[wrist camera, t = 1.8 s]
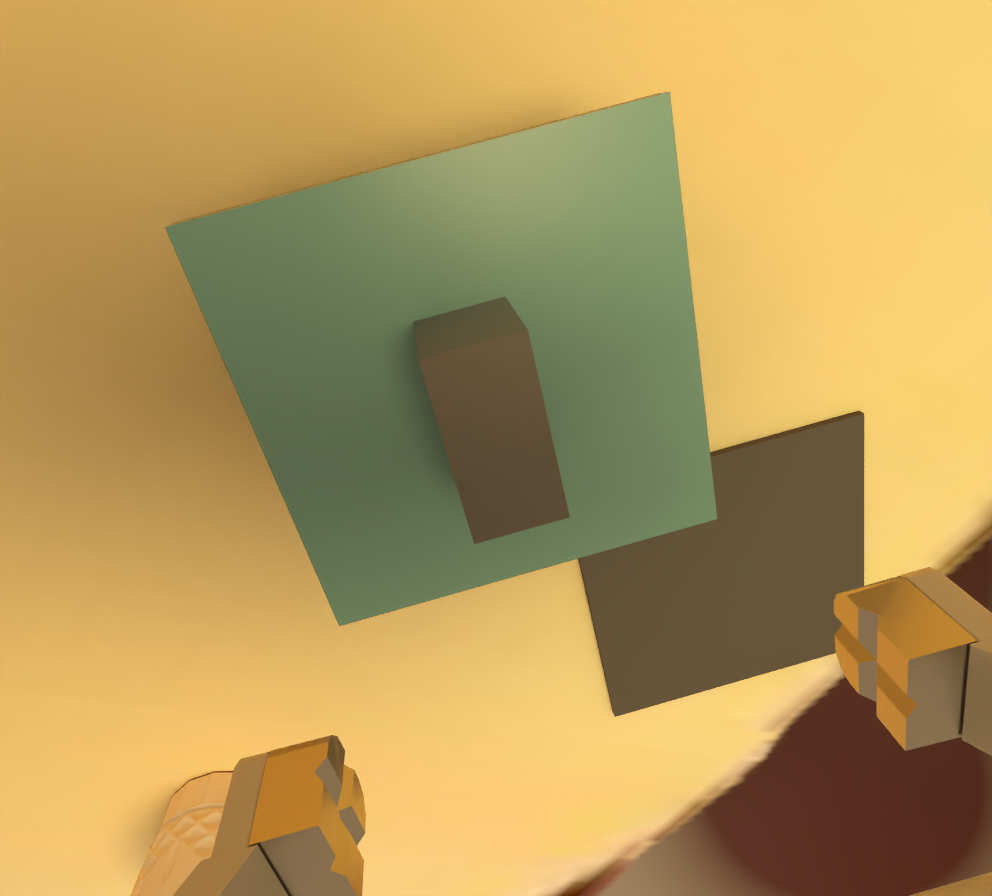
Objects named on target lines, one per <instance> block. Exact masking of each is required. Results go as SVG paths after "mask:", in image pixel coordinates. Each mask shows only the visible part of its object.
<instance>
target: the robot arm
mask: <svg viewBox="0 0 992 896" xmlns="http://www.w3.org/2000/svg"><path fill="white" fill-rule="evenodd" d="M834 615H835V616H836V617H837V618H838V619H839V620H840V621H841V623H842V625H841V626H840V628H839V629H838V631H837V632H836V634H835V635H834V636H835V650H836V654H837V657H838V660H839V663H840V666H841V669H842V670H843V672H844V674H845V676H846V677H847V679H848V681H849V682H850V684H851V685H852V686H853V687H854V689H855V690H856V691H857V692H858V694H860V695H862V696H864V697H867V698H869V699H871V700H874V701H876V702H877V717H878V718H879V719H880V720H881V722H882V723H883V724H884V725H885V727H886V728H887V729H888V730H889V731H890V733H891V734H892V735H893V736H894V738H895V739H896V740H897V741H898V742H899V744H900V745H901V746H902V747H903V748H904V750H910V749H914V748H918V747H922V746H926V745H930V744H934V743H938V742H942V741H946V740H950V739H954V738H958V737H962V740H963V741H965V742H967V743H969V744H971V745H973V746H974V747H976V748H978V749H980V750H982V751H984V752H986V753H987V754H989V755H991V756H992V613H991V612H989V611H988V610H987V609H986V608H984V607H983V606H982V605H981V604H979V603H978V602H977V601H976V600H975V599H973V598H972V597H971V596H970V595H968V594H967V593H966V592H965V591H963V590H962V589H961V588H960V587H958V586H957V585H956V584H955V583H953V582H952V581H951V580H950V579H948V578H947V577H946V576H945V575H943V574H942V573H941V572H940V571H938V570H936V569H933V568H930V567H928V568H924V569H921V570H917V571H914V572H910V573H907V574H904V575H900V576H898V577H894V578H890V579H887V580H883V581H880V582H876V583H873V584H870V585H866V586H863V587H859V588H856V589H852V590H849V591H845V592H842V593H838V594H837V595H836V597H835V600H834ZM344 756H345V750H344V748H343V746H342V744H341V742H340V740H339V739H338V737H337V736H333V735H331V736H327V737H323V738H319V739H315V740H311V741H307V742H303V743H299V744H295V745H291V746H287V747H283V748H279V749H275V750H272V751H271V752H267V753H263V754H259V755H255V756H250V757H246V758H242V759H240V761H239V762H238V763H237V765H236V766H235V768H234V770H233V774H232V778H231V782H230V785H229V789H228V793H227V797H226V801H225V805H224V808H223V812H222V816H221V820H220V824H219V828H218V831H217V835H216V839H215V843H214V847H213V850H212V854H211V858H208V859H205V860H201V861H200V862H199V864H198V865H197V866H196V867H195V869H194V870H193V871H192V872H191V874H190V875H189V876H188V877H187V878H186V880H185V881H184V882H183V883H182V885H181V886H180V887H179V888H178V890H177V891H176V892H175V893H174V894H173V896H362V886H363V867H364V860H363V858H362V856H361V854H360V852H359V850H358V848H357V845H358V843H359V842H360V840H361V839H362V837H363V835H364V834H365V822H366V813H365V805H364V797H363V792H362V789H361V785H360V782H359V779H358V777H357V775H356V773H355V771H354V770H353V769H351V768H349V767H347V766H345V765H344ZM910 896H992V872H991V873H987V874H984V875H980V876H977V877H973V878H970V879H966V880H963V881H959V882H956V883H952V884H949V885H945V886H942V887H938V888H935V889H931V890H928V891H924V892H921V893H918V894H914V895H910Z"/></svg>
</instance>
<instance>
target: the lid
mask: <svg viewBox="0 0 992 896" xmlns="http://www.w3.org/2000/svg"><path fill="white" fill-rule="evenodd" d="M165 229H166V231H167V233H168V235H169V238H170V240H171V242H172V245H173V247H174V249H175V251H176V254H177V256H178V258H179V261H180V263H181V265H182V267H183V270H184V272H185V274H186V277H187V279H188V281H189V283H190V286H191V288H192V290H193V293H194V295H195V297H196V299H197V302H198V304H199V306H200V309H201V311H202V313H203V315H204V318H205V320H206V322H207V325H208V327H209V329H210V331H211V334H212V336H213V338H214V341H215V343H216V345H217V348H218V350H219V352H220V354H221V357H222V359H223V361H224V364H225V366H226V368H227V370H228V373H229V375H230V377H231V380H232V382H233V384H234V386H235V389H236V391H237V393H238V396H239V398H240V400H241V402H242V405H243V407H244V409H245V412H246V414H247V416H248V418H249V421H250V423H251V425H252V428H253V430H254V432H255V434H256V437H257V439H258V441H259V444H260V446H261V448H262V450H263V453H264V455H265V457H266V460H267V462H268V464H269V466H270V469H271V471H272V473H273V476H274V478H275V480H276V482H277V485H278V487H279V489H280V492H281V494H282V496H283V499H284V501H285V503H286V505H287V508H288V510H289V512H290V515H291V517H292V519H293V521H294V524H295V526H296V528H297V531H298V533H299V535H300V537H301V540H302V542H303V544H304V547H305V549H306V551H307V553H308V556H309V558H310V560H311V563H312V565H313V567H314V569H315V572H316V574H317V576H318V579H319V581H320V583H321V585H322V588H323V590H324V592H325V595H326V597H327V599H328V601H329V604H330V606H331V608H332V611H333V613H334V615H335V617H336V620H337V622H338V624H339V626H341V625H345V624H348V623H352V622H355V621H359V620H362V619H366V618H369V617H373V616H376V615H380V614H384V613H387V612H391V611H394V610H398V609H401V608H405V607H408V606H412V605H415V604H419V603H422V602H426V601H429V600H433V599H437V598H440V597H444V596H447V595H451V594H454V593H458V592H461V591H465V590H468V589H472V588H475V587H479V586H482V585H486V584H490V583H493V582H497V581H500V580H504V579H507V578H511V577H514V576H518V575H521V574H525V573H528V572H532V571H535V570H539V569H543V568H546V567H550V566H553V565H557V564H560V563H564V562H567V561H571V560H574V559H578V558H581V557H585V556H588V555H592V554H595V553H599V552H603V551H606V550H610V549H613V548H617V547H620V546H624V545H627V544H631V543H634V542H638V541H641V540H645V539H648V538H652V537H656V536H659V535H663V534H666V533H670V532H673V531H677V530H680V529H684V528H687V527H691V526H694V525H698V524H701V523H705V522H709V521H712V520H716V519H717V512H716V503H715V494H714V485H713V476H712V467H711V458H710V449H709V440H708V431H707V422H706V413H705V404H704V395H703V386H702V377H701V368H700V359H699V350H698V341H697V332H696V323H695V314H694V305H693V296H692V287H691V278H690V269H689V260H688V251H687V242H686V233H685V224H684V215H683V206H682V197H681V188H680V179H679V170H678V161H677V152H676V143H675V134H674V125H673V116H672V107H671V98H670V92H665V93H658V94H654V95H650V96H646V97H643V98H639V99H635V100H631V101H628V102H624V103H620V104H616V105H613V106H609V107H605V108H602V109H598V110H594V111H590V112H587V113H583V114H579V115H575V116H572V117H568V118H564V119H560V120H557V121H553V122H549V123H546V124H542V125H538V126H534V127H531V128H527V129H523V130H519V131H516V132H512V133H508V134H504V135H501V136H497V137H493V138H489V139H486V140H482V141H478V142H475V143H471V144H467V145H463V146H460V147H456V148H452V149H448V150H445V151H441V152H437V153H433V154H430V155H426V156H422V157H419V158H415V159H411V160H407V161H404V162H400V163H396V164H392V165H389V166H385V167H381V168H377V169H374V170H370V171H366V172H363V173H359V174H355V175H351V176H348V177H344V178H340V179H336V180H333V181H329V182H325V183H321V184H318V185H314V186H310V187H306V188H303V189H299V190H295V191H292V192H288V193H284V194H280V195H277V196H273V197H269V198H265V199H262V200H258V201H254V202H250V203H247V204H243V205H239V206H236V207H232V208H228V209H224V210H221V211H217V212H213V213H209V214H206V215H202V216H198V217H194V218H191V219H187V220H183V221H179V222H176V223H173V224H171V225H169V226H166V227H165Z"/></svg>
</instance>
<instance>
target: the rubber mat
mask: <svg viewBox="0 0 992 896" xmlns="http://www.w3.org/2000/svg"><path fill="white" fill-rule="evenodd" d="M710 458H711V467H712V476H713V485H714V494H715V503H716V512H717V519H716V520H712V521H709V522H705V523H701V524H698V525H694V526H691V527H687V528H684V529H680V530H677V531H673V532H670V533H666V534H663V535H659V536H656V537H652V538H648V539H645V540H641V541H638V542H634V543H631V544H627V545H624V546H620V547H617V548H613V549H610V550H606V551H603V552H599V553H595V554H592V555H588V556H585V557H581V558H579V562H580V567H581V571H582V576H583V580H584V585H585V589H586V594H587V598H588V602H589V607H590V611H591V616H592V620H593V625H594V629H595V634H596V638H597V643H598V647H599V651H600V656H601V660H602V665H603V669H604V674H605V678H606V683H607V687H608V692H609V696H610V701H611V705H612V709H613V713H614V716H615V717H616V716H619V715H623V714H626V713H630V712H633V711H637V710H640V709H644V708H647V707H650V706H654V705H657V704H661V703H664V702H668V701H671V700H675V699H678V698H682V697H685V696H689V695H692V694H695V693H699V692H702V691H706V690H709V689H713V688H716V687H720V686H723V685H727V684H730V683H734V682H737V681H740V680H744V679H747V678H751V677H754V676H758V675H761V674H765V673H768V672H772V671H775V670H778V669H782V668H785V667H789V666H792V665H796V664H799V663H803V662H806V661H810V660H813V659H817V658H820V657H823V656H827V655H830V654H834V653H836V650H835V636H834V635H835V634H836V632H837V631H838V629H839V628H840V626H841V625H842V623H841V621H840V620H839V619H838V618H837V617H836V616H835V615H834V600H835V597H836V595H837V594H838V593H842V592H845V591H849V590H852V589H856V588H859V587H863V586H864V413H862V412H860V411H857V412H854V413H850V414H847V415H843V416H839V417H836V418H832V419H829V420H825V421H822V422H818V423H815V424H811V425H807V426H804V427H800V428H797V429H793V430H790V431H786V432H782V433H779V434H775V435H772V436H768V437H765V438H761V439H758V440H754V441H750V442H747V443H743V444H740V445H736V446H733V447H729V448H725V449H722V450H718V451H715V452H711V453H710Z"/></svg>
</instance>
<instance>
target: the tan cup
mask: <svg viewBox="0 0 992 896" xmlns="http://www.w3.org/2000/svg"><path fill="white" fill-rule="evenodd" d="M232 774H233V772H217V773H211V774H208V775H205V776H202V777H199V778H197V779H194V780H191V781H189V782H188V783H187V784H186V785H184V786H183V787H182V788H181V789H180V790H179V791H178V792H177V793H175V794H174V795H173V796H172V798H171V801H170V803H169V806H168V809H167V811H166V814H165V817H164V819H163V822H162V825H161V827H160V830H159V832H158V834H157V837H156V839H155V841H154V842H153V844H152V845H151V847H150V850H149V853H148V855H147V857H146V859H145V861H144V864H143V866H142V869H141V871H140V873H139V875H138V878H137V880H136V883H135V885H134V888H133V891H132V893H131V896H173V894H174V893H175V892H176V891H177V890H178V888H179V887H180V886H181V885H182V883H183V882H184V881H185V880H186V878H187V877H188V876H189V875H190V874H191V872H192V871H193V870H194V869H195V867H196V866H197V865H198V864H199V862H200V861H201V860H205V859H208V858H211V854H212V850H213V847H214V843H215V839H216V835H217V831H218V828H219V824H220V820H221V816H222V812H223V808H224V805H225V801H226V797H227V793H228V789H229V785H230V782H231V778H232Z"/></svg>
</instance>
